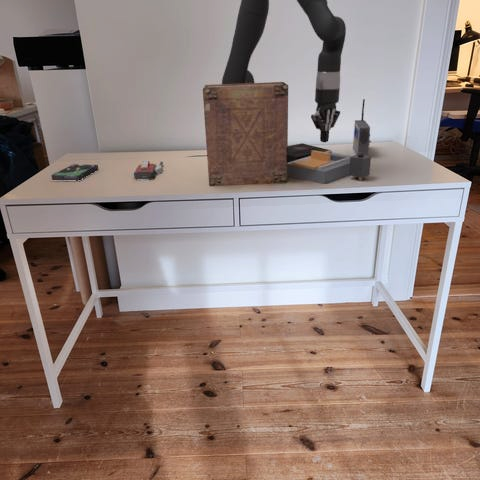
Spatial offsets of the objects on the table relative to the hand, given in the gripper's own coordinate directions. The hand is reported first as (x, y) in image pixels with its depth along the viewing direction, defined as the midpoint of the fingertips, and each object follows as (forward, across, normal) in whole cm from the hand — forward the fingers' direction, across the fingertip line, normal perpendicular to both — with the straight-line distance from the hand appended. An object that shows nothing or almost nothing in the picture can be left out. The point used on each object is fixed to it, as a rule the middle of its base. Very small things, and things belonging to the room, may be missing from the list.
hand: (324, 141), depth 146 cm
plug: (+10, -2, +13) cm, 17 cm away
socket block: (+10, -1, 0) cm, 11 cm away
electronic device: (+11, -32, -5) cm, 34 cm away
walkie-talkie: (+12, +39, -47) cm, 62 cm away
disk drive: (+13, +59, -64) cm, 89 cm away
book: (+11, +23, -13) cm, 29 cm away
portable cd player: (+12, -10, -18) cm, 24 cm away
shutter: (+6, +6, 0) cm, 9 cm away
